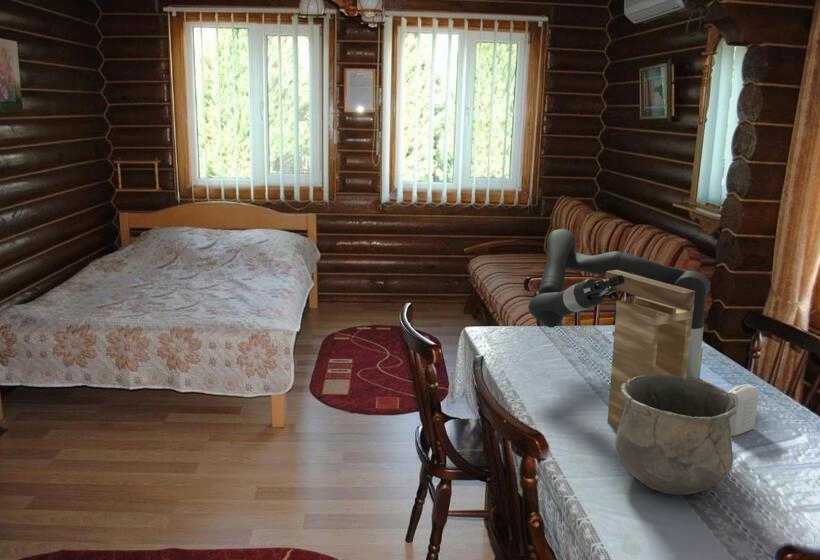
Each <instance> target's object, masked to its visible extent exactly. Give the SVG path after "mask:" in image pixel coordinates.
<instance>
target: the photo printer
mask: <svg viewBox="0 0 820 560" xmlns="http://www.w3.org/2000/svg"><path fill="white" fill-rule="evenodd" d="M727 393H728V394H730V395H731V396H733V397H734V399H735V405H736V406H735V407H734V408H732V409H736V411H737V412H736V414H735V415H733V416H731V417H730V426H731V437H736V436H740V435H742V434H744V433H747V432H748V431H749V432H750V431H752V430H753V429H754V428H755V424H756V417H757V416H756V415H757V410H758V409H757V408H758V402H759V396H760V395H759V394H760V393H759V390H758V388H757V387H756V386H755V385H751V384H748V383H746V384H740V385H737V386H734V387H733V388H732V389H730V390H729V391H728V392H727Z"/></svg>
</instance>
